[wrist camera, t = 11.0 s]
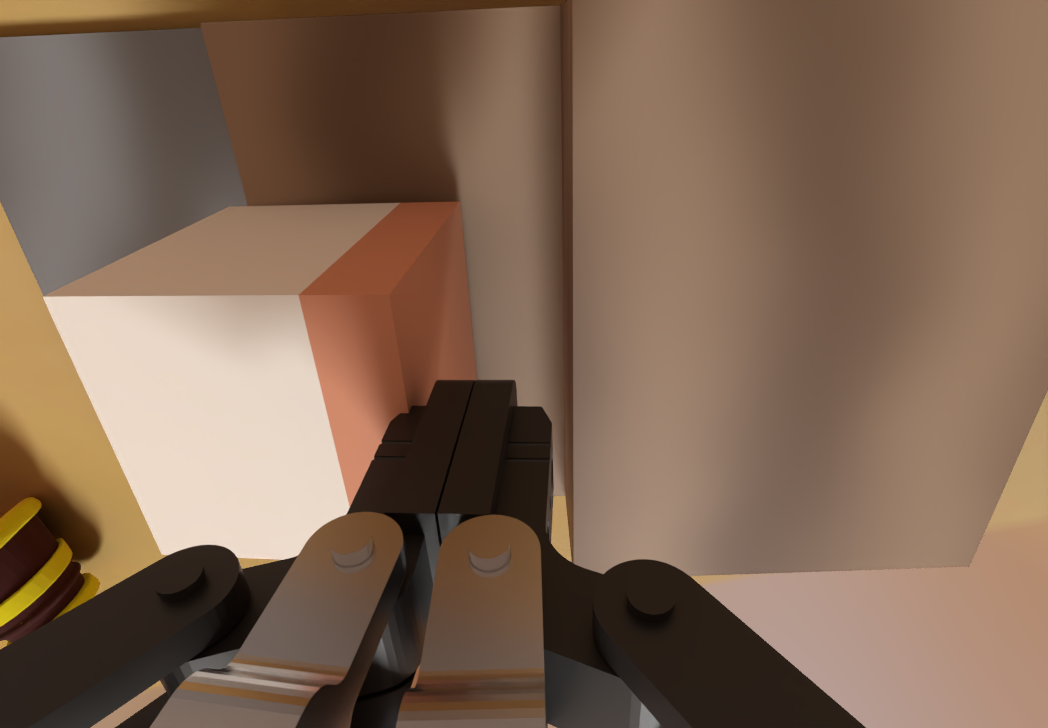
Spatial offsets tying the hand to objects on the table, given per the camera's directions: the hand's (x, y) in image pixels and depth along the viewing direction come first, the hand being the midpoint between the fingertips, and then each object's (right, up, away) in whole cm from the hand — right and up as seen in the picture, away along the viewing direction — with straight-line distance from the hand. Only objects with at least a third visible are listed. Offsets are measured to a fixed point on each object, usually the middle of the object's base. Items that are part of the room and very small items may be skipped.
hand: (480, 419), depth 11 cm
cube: (-1, +1, +2) cm, 2 cm away
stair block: (-1, +4, +8) cm, 9 cm away
